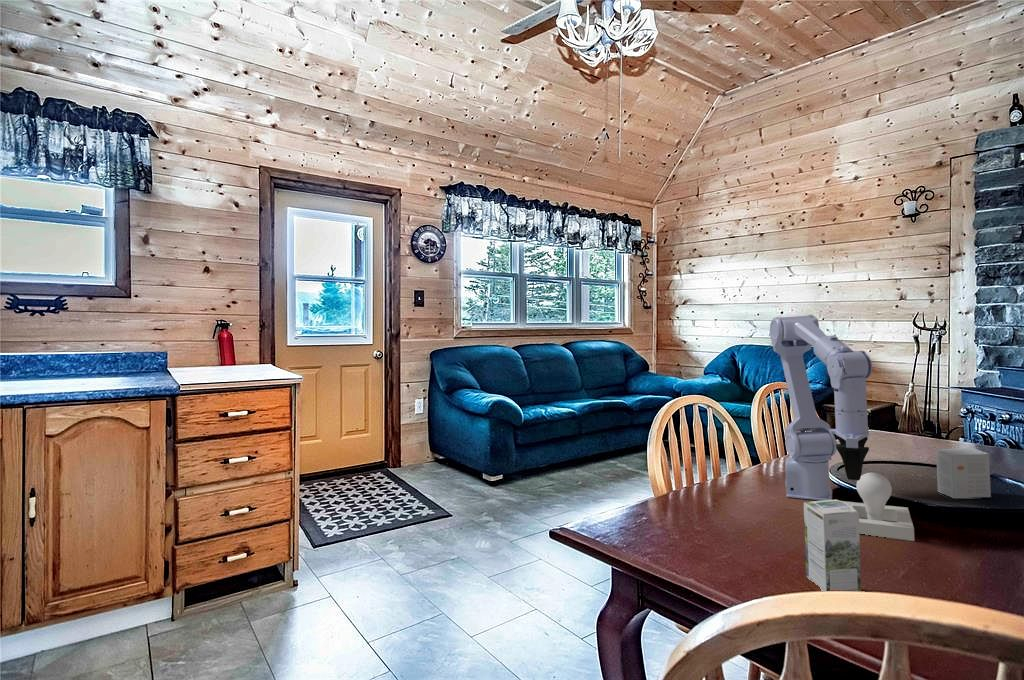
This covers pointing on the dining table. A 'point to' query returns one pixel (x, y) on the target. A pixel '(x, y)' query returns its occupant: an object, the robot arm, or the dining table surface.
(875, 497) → the lightbulb
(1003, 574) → the dining table surface
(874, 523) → the white shallow tray
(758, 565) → the dining table surface
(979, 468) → the small box
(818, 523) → the syrup box
